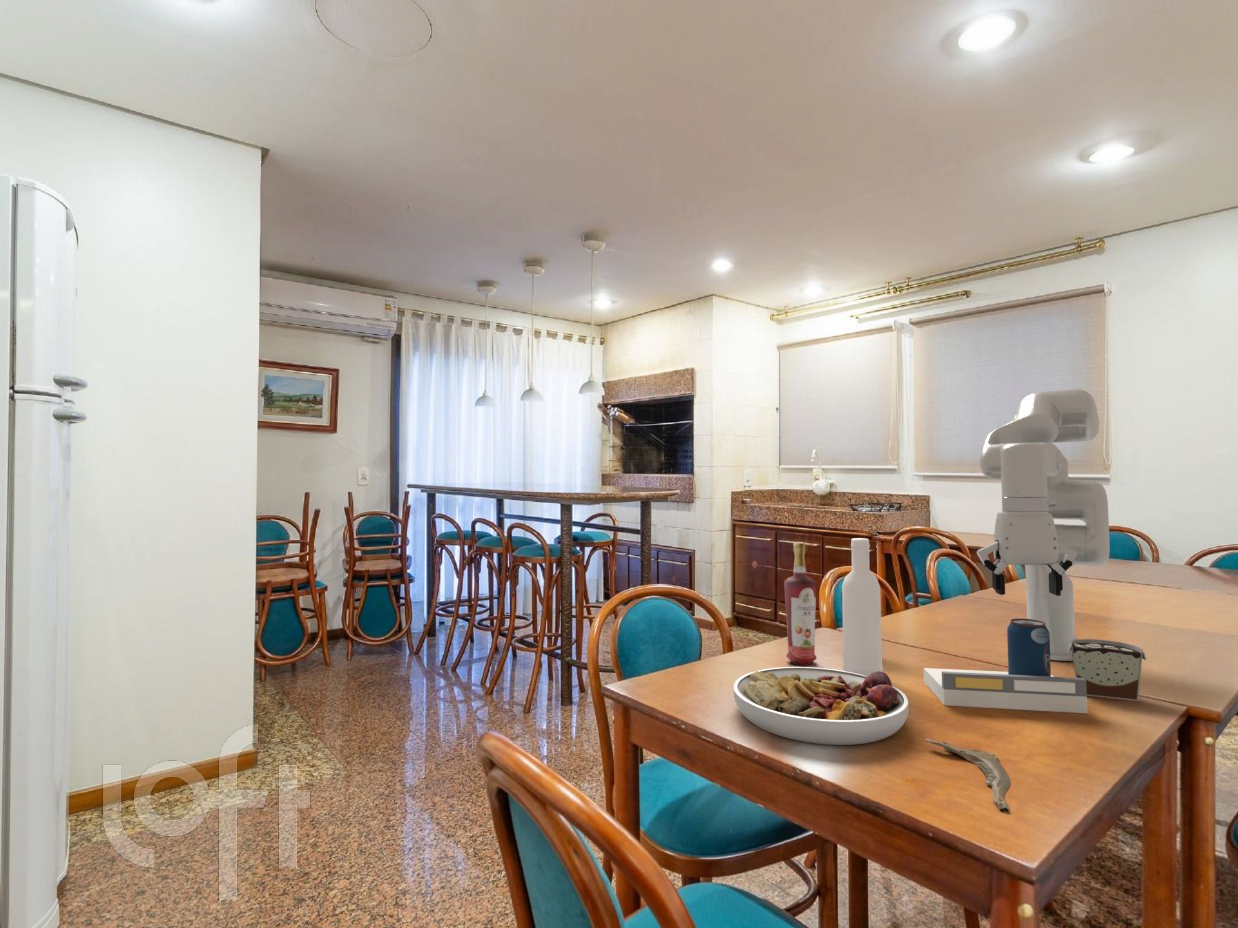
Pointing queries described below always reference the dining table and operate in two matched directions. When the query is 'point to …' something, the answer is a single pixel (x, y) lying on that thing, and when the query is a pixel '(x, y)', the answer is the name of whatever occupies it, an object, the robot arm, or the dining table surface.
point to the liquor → (800, 611)
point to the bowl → (822, 704)
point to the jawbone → (985, 770)
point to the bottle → (861, 614)
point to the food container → (1108, 667)
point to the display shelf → (1007, 690)
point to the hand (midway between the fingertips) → (1027, 594)
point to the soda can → (1028, 648)
